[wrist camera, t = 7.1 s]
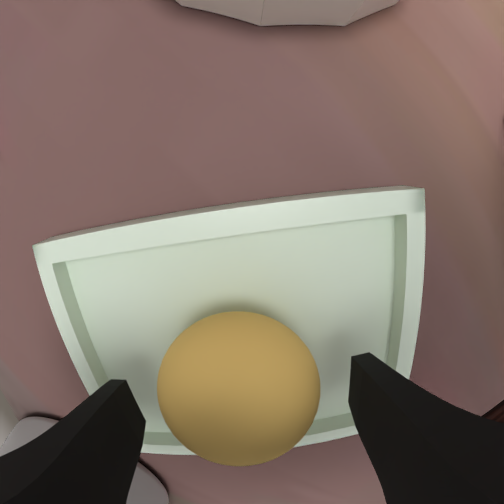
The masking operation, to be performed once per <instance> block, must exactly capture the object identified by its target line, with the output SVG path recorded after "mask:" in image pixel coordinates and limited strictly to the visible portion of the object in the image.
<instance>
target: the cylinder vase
mask: <svg viewBox="0 0 504 504" xmlns="http://www.w3.org/2000/svg"><path fill="white" fill-rule="evenodd" d="M57 422H59V421H57V420H54V419H50V418H45V417H27V418H24V419H22V420H20V421H19V422H18V423H17V424H16V426H15V427H14V428H13V430H12V431H11V433H10V434H9V436H8V437H7V438H6V440H5V442H4V443H3V444H2V446H1V448H0V456H2V455H5V454H7V453H9V452H11V451H13V450H15V449H17V448H19V447H21V446H23V445H25V444H27V443H28V442H30V441H32V440H33V439H35V438H36V437H38V436H40V435H41V434H42V433H44V432H45V431H47V430H48V429H49V428H51V427H52V426H53V425H55V424H56V423H57ZM126 504H169V498H168V494H167V491H166V489H165V488H164V486H163V485H162V483H161V482H160V481H159V480H158V479H157V477H156V476H155V475H153V474H152V473H151V472H150V471H149V470H148V469H147V468H145V467H144V466H143V465H142V464H140V463H139V462H138V463H137V466H136V470H135V473H134V476H133V480H132V483H131V486H130V490H129V493H128V497H127V502H126Z"/></svg>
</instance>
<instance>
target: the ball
mask: <svg viewBox="0 0 504 504" xmlns="http://www.w3.org/2000/svg"><path fill="white" fill-rule="evenodd" d="M157 397H158V403H159V407H160V411H161V413H162V416H163V418H164V420H165V423H166V424H167V426H168V428H169V429H170V431H171V432H172V434H173V435H174V436H175V437H176V438H177V439H178V440H179V441H180V442H181V443H182V444H183V445H184V446H185V447H186V448H187V449H189V450H190V451H192V452H193V453H195V454H196V455H198V456H200V457H202V458H204V459H206V460H208V461H211V462H214V463H218V464H223V465H229V466H250V465H257V464H261V463H265V462H268V461H271V460H273V459H275V458H277V457H279V456H281V455H283V454H284V453H286V452H287V451H289V450H290V449H292V448H293V447H294V446H295V445H296V444H297V443H298V442H299V441H300V440H301V439H302V438H303V437H304V436H305V434H306V433H307V431H308V430H309V428H310V427H311V425H312V423H313V421H314V418H315V416H316V413H317V411H318V406H319V401H320V377H319V372H318V368H317V365H316V363H315V360H314V358H313V356H312V354H311V352H310V351H309V349H308V347H307V346H306V345H305V343H304V342H303V341H302V340H301V339H300V337H299V336H298V335H297V334H296V333H294V332H293V331H292V330H291V329H290V328H288V327H287V326H285V325H284V324H282V323H281V322H279V321H277V320H275V319H273V318H270V317H268V316H265V315H262V314H257V313H253V312H244V311H232V312H223V313H218V314H214V315H211V316H208V317H205V318H203V319H201V320H199V321H197V322H195V323H194V324H192V325H191V326H189V327H188V328H186V329H185V330H184V331H183V332H182V333H181V334H180V335H179V336H178V337H177V338H176V339H175V340H174V341H173V343H172V344H171V345H170V346H169V348H168V350H167V352H166V354H165V356H164V357H163V359H162V362H161V365H160V369H159V373H158V379H157Z"/></svg>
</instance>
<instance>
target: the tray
mask: <svg viewBox="0 0 504 504" xmlns="http://www.w3.org/2000/svg"><path fill="white" fill-rule="evenodd" d="M32 247H33V251H34V255H35V259H36V263H37V266H38V270H39V273H40V277H41V280H42V283H43V287H44V290H45V293H46V296H47V299H48V302H49V305H50V307H51V310H52V313H53V316H54V318H55V321H56V324H57V326H58V329H59V331H60V334H61V336H62V339H63V341H64V343H65V346H66V348H67V350H68V353H69V355H70V357H71V359H72V361H73V364H74V366H75V368H76V370H77V372H78V374H79V376H80V378H81V380H82V382H83V384H84V386H85V388H86V390H87V392H88V393H89V395H92V394H93V393H94V392H95V391H96V390H98V389H99V388H100V387H101V386H102V385H104V384H105V383H106V382H108V381H109V380H111V379H121V380H127V383H128V385H129V387H130V389H131V391H132V394H133V396H134V398H135V400H136V402H137V404H138V406H139V408H140V410H141V412H142V414H143V416H144V418H145V420H146V426H145V433H144V440H143V446H142V449H141V453H154V454H175V455H196V454H195V453H193V452H192V451H190V450H189V449H187V448H186V447H185V446H184V445H183V444H182V443H181V442H180V441H179V440H178V439H177V438H176V437H175V436H174V435H173V434H172V432H171V431H170V429H169V428H168V426H167V424H166V423H165V420H164V418H163V416H162V413H161V411H160V407H159V403H158V397H157V379H158V373H159V369H160V365H161V362H162V359H163V357H164V356H165V354H166V352H167V350H168V348H169V346H170V345H171V344H172V343H173V341H174V340H175V339H176V338H177V337H178V336H179V335H180V334H181V333H182V332H183V331H184V330H185V329H186V328H188V327H189V326H191V325H192V324H194V323H195V322H197V321H199V320H201V319H203V318H205V317H208V316H211V315H214V314H218V313H223V312H232V311H244V312H253V313H257V314H262V315H265V316H268V317H270V318H273V319H275V320H277V321H279V322H281V323H282V324H284V325H285V326H287V327H288V328H290V329H291V330H292V331H293V332H294V333H296V334H297V335H298V336H299V337H300V339H301V340H302V341H303V342H304V343H305V345H306V346H307V347H308V349H309V351H310V352H311V354H312V356H313V358H314V360H315V363H316V365H317V368H318V372H319V377H320V401H319V406H318V411H317V413H316V416H315V418H314V421H313V423H312V425H311V427H310V428H309V430H308V431H307V433H306V434H305V436H304V437H303V438H302V439H301V440H300V441H299V442H298V443H297V444H296V445H295V446H294V447H298V446H304V445H310V444H315V443H320V442H325V441H330V440H334V439H339V438H343V437H347V436H351V435H355V434H358V431H357V429H356V427H355V423H354V420H353V417H352V414H351V410H350V407H349V403H348V396H349V384H350V369H351V356H355V355H359V354H364V353H368V352H370V353H371V354H373V355H374V356H376V357H377V358H378V359H380V360H381V361H383V362H384V363H385V364H387V365H388V366H390V367H391V368H392V369H394V370H395V371H397V372H398V373H400V374H401V375H403V376H404V377H405V378H407V379H408V380H409V377H410V373H411V368H412V363H413V357H414V352H415V346H416V340H417V333H418V326H419V319H420V310H421V301H422V291H423V279H424V262H425V190H424V188H418V187H411V186H404V185H401V186H387V187H374V188H362V189H350V190H340V191H329V192H320V193H310V194H301V195H292V196H284V197H276V198H268V199H260V200H253V201H245V202H238V203H231V204H224V205H217V206H211V207H204V208H198V209H192V210H185V211H179V212H173V213H168V214H162V215H156V216H151V217H145V218H140V219H134V220H129V221H124V222H119V223H113V224H108V225H104V226H99V227H94V228H89V229H84V230H80V231H75V232H71V233H66V234H62V235H57V236H53V237H51V238H48V239H46V240H44V241H41V242H39V243H37V244H34V245H32Z"/></svg>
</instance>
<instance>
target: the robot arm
mask: <svg viewBox="0 0 504 504" xmlns="http://www.w3.org/2000/svg"><path fill="white" fill-rule="evenodd" d="M348 403H349V407H350V410H351V414H352V417H353V420H354V423H355V427H356V429H357V431H358V434H359V436H360V438H361V440H362V442H363V445H364V447H365V449H366V451H367V453H368V456H369V458H370V460H371V462H372V465H373V467H374V469H375V471H376V473H377V476H378V478H379V481H380V483H381V486H382V489H383V492H384V496H385V499H386V503H387V504H504V423H500V422H497V421H494V420H490V419H487V418H484V417H481V416H478V415H475V414H473V413H470V412H468V411H465V410H463V409H461V408H458V407H456V406H454V405H452V404H450V403H448V402H446V401H444V400H442V399H440V398H438V397H437V396H435V395H433V394H431V393H429V392H428V391H426V390H424V389H423V388H421V387H419V386H418V385H416V384H415V383H413V382H412V381H410V380H408V379H407V378H405V377H404V376H403V375H401V374H400V373H398V372H397V371H395V370H394V369H392V368H391V367H390V366H388V365H387V364H385V363H384V362H383V361H381V360H380V359H378V358H377V357H376V356H374V355H373V354H371V353H370V352H368V353H364V354H359V355H355V356H351V369H350V384H349V396H348ZM145 426H146V420H145V418H144V416H143V414H142V412H141V410H140V408H139V406H138V404H137V402H136V400H135V398H134V396H133V394H132V391H131V389H130V387H129V385H128V383H127V380H121V379H111V380H109V381H108V382H106V383H105V384H104V385H102V386H101V387H100V388H99V389H98V390H96V391H95V392H94V393H93V394H92V395H90V396H89V397H88V398H87V399H86V400H84V401H83V402H82V403H81V404H80V405H79V406H77V407H76V408H75V409H74V410H73V411H71V412H70V413H69V414H68V415H67V416H65V417H64V418H63V419H61V420H60V421H59V422H57V423H56V424H55V425H53V426H52V427H51V428H49V429H48V430H47V431H45V432H44V433H42V434H41V435H40V436H38V437H36V438H35V439H33V440H32V441H30V442H28V443H27V444H25V445H23V446H21V447H19V448H17V449H15V450H13V451H11V452H9V453H7V454H5V455H2V456H0V504H126V502H127V497H128V493H129V490H130V486H131V483H132V480H133V476H134V473H135V470H136V466H137V463H138V460H139V456H140V453H141V449H142V446H143V440H144V433H145Z"/></svg>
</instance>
